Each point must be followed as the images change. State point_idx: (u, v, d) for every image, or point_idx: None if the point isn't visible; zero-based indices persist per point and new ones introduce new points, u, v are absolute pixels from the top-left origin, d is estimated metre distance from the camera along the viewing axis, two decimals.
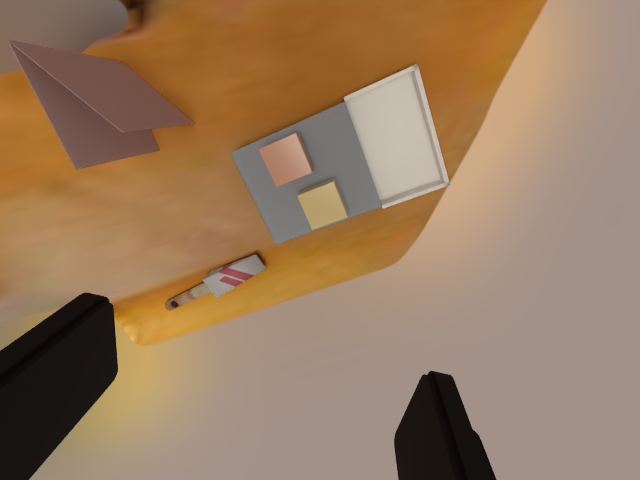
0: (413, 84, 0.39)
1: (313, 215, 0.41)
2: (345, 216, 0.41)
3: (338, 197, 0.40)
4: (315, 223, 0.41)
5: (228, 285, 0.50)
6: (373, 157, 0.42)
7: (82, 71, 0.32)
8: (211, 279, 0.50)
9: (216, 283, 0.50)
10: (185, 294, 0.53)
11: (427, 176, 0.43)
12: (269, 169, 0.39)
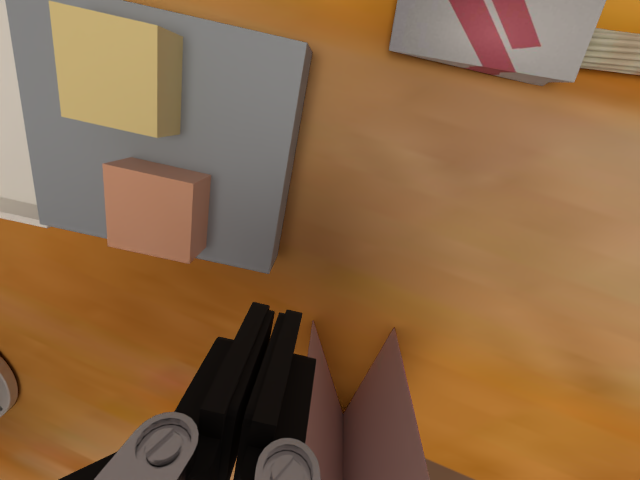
0: None
1: (137, 65, 0.15)
2: (54, 7, 0.14)
3: (59, 71, 0.15)
4: (141, 39, 0.15)
5: (534, 10, 0.16)
6: None
7: None
8: (552, 65, 0.17)
9: (554, 42, 0.16)
10: None
11: None
12: (188, 222, 0.18)
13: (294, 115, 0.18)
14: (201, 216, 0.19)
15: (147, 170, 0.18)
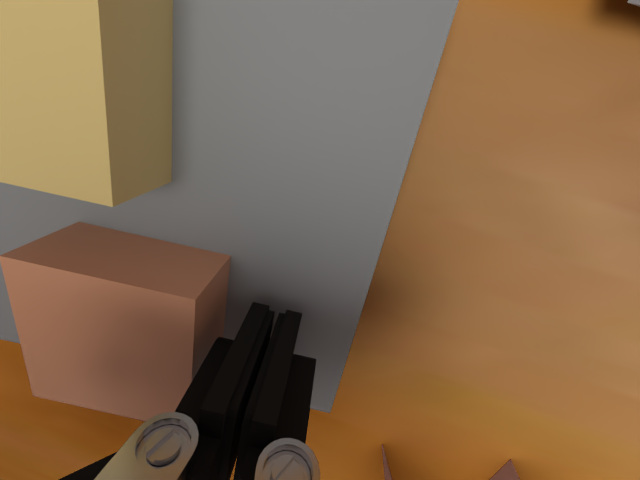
0: None
1: (50, 33, 0.06)
2: None
3: None
4: None
5: None
6: None
7: None
8: None
9: None
10: None
11: None
12: (185, 367, 0.09)
13: (411, 146, 0.08)
14: (212, 336, 0.10)
15: (99, 264, 0.08)
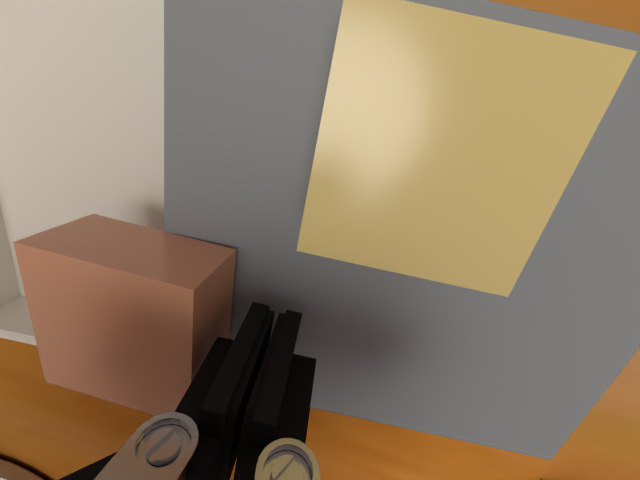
0: (17, 270, 0.15)
1: (531, 150, 0.06)
2: (356, 6, 0.05)
3: (320, 161, 0.06)
4: (571, 88, 0.06)
5: None
6: None
7: None
8: None
9: None
10: None
11: None
12: (185, 359, 0.09)
13: None
14: (215, 330, 0.10)
15: (106, 252, 0.08)
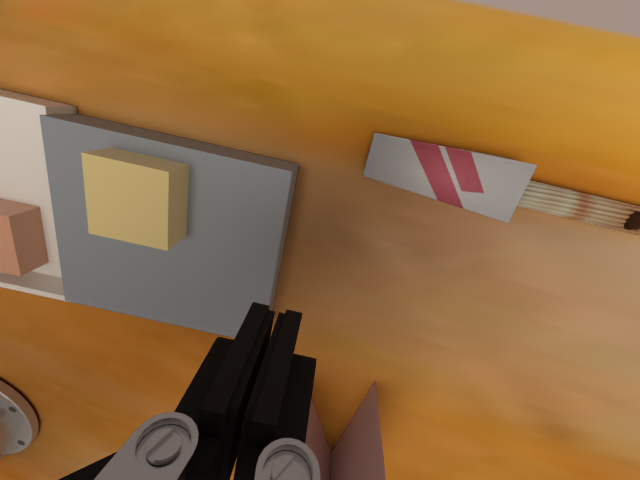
0: None
1: (152, 199, 0.18)
2: (85, 157, 0.18)
3: (88, 201, 0.19)
4: (155, 181, 0.18)
5: (480, 166, 0.19)
6: None
7: None
8: (492, 208, 0.20)
9: (494, 192, 0.20)
10: (585, 220, 0.21)
11: None
12: None
13: (282, 224, 0.21)
14: None
15: (5, 203, 0.24)
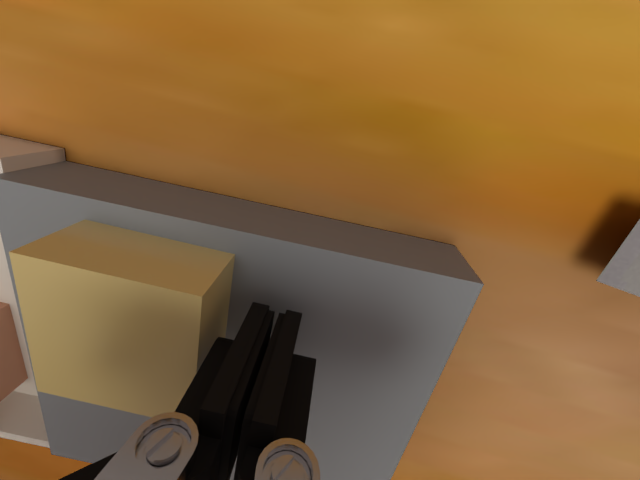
0: None
1: (164, 343, 0.09)
2: (19, 261, 0.08)
3: (32, 340, 0.09)
4: (172, 312, 0.08)
5: None
6: None
7: None
8: None
9: None
10: None
11: None
12: None
13: (442, 366, 0.11)
14: None
15: None
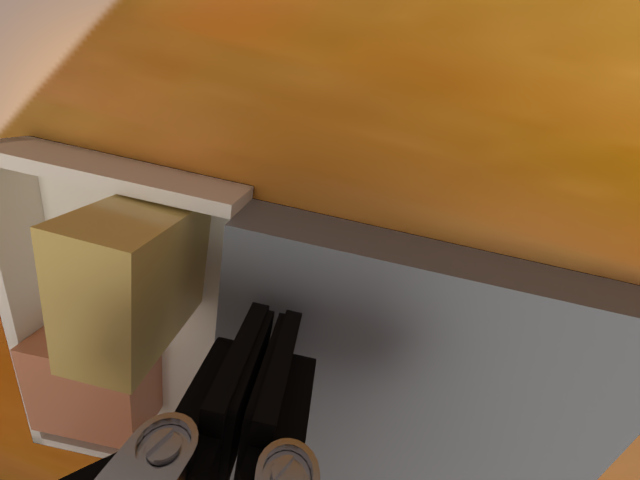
0: None
1: None
2: None
3: None
4: None
5: None
6: (211, 321, 0.15)
7: None
8: None
9: None
10: None
11: (75, 186, 0.13)
12: None
13: None
14: None
15: None
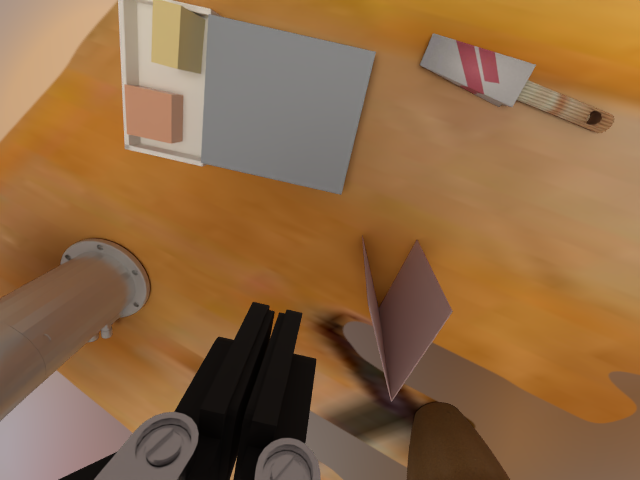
0: None
1: None
2: None
3: None
4: None
5: (499, 63, 0.30)
6: (204, 84, 0.34)
7: (381, 341, 0.34)
8: (503, 95, 0.30)
9: (506, 83, 0.30)
10: (562, 114, 0.32)
11: (151, 17, 0.32)
12: None
13: (365, 93, 0.31)
14: None
15: (161, 90, 0.34)
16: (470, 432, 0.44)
